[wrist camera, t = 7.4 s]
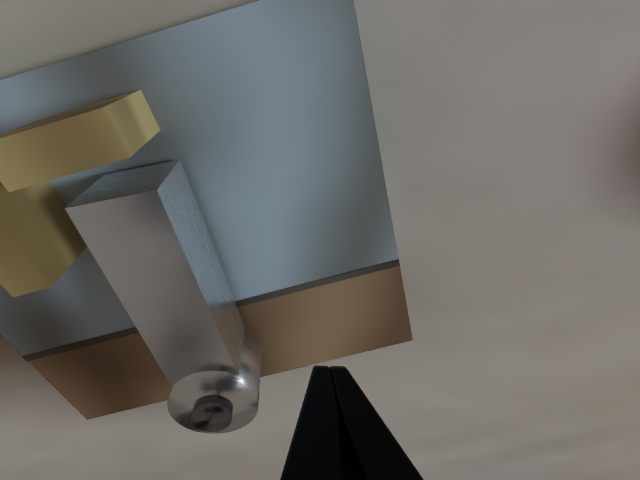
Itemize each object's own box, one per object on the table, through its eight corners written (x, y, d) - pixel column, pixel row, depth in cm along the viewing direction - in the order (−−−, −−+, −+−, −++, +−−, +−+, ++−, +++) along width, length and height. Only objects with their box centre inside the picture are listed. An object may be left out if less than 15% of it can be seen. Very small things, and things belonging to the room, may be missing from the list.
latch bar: (269, 368, 16) (266, 437, 14) (200, 381, 16) (183, 452, 14) (192, 157, 11) (163, 200, 9) (91, 177, 11) (30, 226, 9)
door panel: (97, 397, 19) (58, 477, 15) (-154, 129, 11) (-327, 172, 8) (405, 321, 18) (432, 388, 14) (342, -23, 11) (368, -42, 7)
